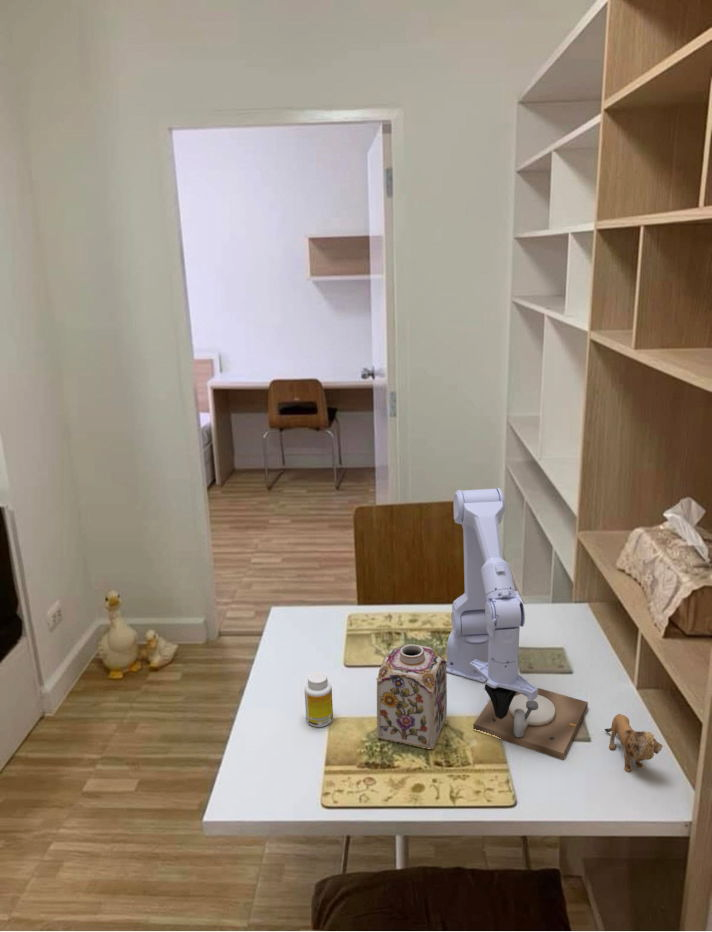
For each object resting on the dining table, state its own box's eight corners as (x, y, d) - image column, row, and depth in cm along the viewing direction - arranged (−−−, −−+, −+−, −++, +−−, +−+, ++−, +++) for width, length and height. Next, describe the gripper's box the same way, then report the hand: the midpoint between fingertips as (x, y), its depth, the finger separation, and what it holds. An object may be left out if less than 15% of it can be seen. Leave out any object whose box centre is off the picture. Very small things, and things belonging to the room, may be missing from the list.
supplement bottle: (337, 723, 148) (335, 680, 145) (312, 731, 145) (310, 687, 142) (326, 708, 153) (324, 666, 150) (302, 716, 150) (299, 673, 147)
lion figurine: (663, 780, 129) (667, 738, 127) (636, 786, 128) (641, 743, 126) (615, 729, 143) (619, 690, 140) (591, 734, 142) (594, 695, 139)
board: (473, 730, 144) (473, 723, 144) (504, 684, 159) (504, 677, 158) (563, 760, 135) (563, 752, 135) (587, 708, 150) (587, 701, 149)
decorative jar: (433, 752, 138) (433, 671, 133) (376, 740, 142) (374, 660, 137) (447, 715, 149) (448, 638, 144) (394, 705, 153) (392, 630, 148)
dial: (517, 693, 152) (518, 673, 151) (560, 706, 148) (561, 685, 146) (494, 729, 141) (495, 707, 140) (539, 744, 137) (541, 722, 135)
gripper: (460, 649, 141) (459, 709, 145) (523, 678, 131) (521, 742, 135) (482, 635, 145) (480, 694, 149) (545, 663, 135) (541, 724, 139)
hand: (501, 715), depth 142 cm, fingers closed
